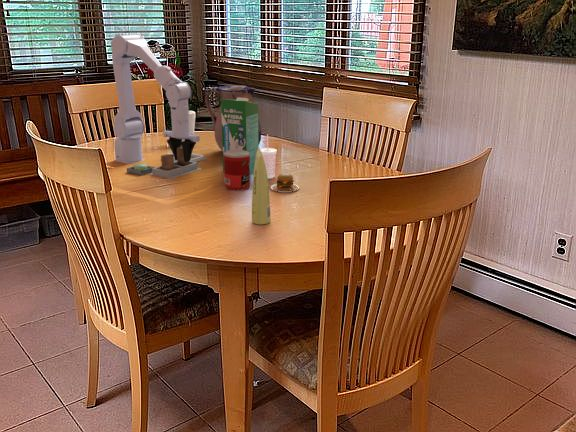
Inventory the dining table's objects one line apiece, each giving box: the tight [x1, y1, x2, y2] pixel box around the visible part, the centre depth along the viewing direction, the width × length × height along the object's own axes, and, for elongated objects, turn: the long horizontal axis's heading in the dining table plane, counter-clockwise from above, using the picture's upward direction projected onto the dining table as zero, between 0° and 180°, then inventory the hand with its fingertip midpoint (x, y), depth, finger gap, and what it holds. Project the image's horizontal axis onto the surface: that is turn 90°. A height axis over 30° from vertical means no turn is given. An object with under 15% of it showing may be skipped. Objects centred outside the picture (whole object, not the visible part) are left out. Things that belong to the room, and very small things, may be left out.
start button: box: [133, 163, 149, 171], centre depth 191 cm, size 4×4×3 cm
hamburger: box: [269, 172, 300, 193], centre depth 178 cm, size 12×12×6 cm
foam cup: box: [182, 110, 197, 141], centre depth 233 cm, size 10×9×13 cm
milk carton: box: [220, 98, 260, 175], centre depth 192 cm, size 9×9×25 cm
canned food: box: [223, 150, 251, 191], centre depth 178 cm, size 8×8×11 cm
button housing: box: [126, 165, 156, 176], centre depth 192 cm, size 6×6×2 cm
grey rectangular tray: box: [149, 161, 202, 180], centre depth 193 cm, size 10×15×3 cm, turn 147°
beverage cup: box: [260, 134, 278, 179], centre depth 189 cm, size 6×6×14 cm
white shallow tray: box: [170, 152, 207, 163], centre depth 208 cm, size 13×10×2 cm
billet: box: [177, 146, 189, 166], centre depth 194 cm, size 4×4×6 cm
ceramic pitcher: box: [204, 85, 262, 152], centre depth 217 cm, size 18×21×25 cm
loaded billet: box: [160, 153, 174, 171], centre depth 189 cm, size 4×4×6 cm
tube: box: [251, 146, 271, 226], centre depth 148 cm, size 6×5×20 cm
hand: (182, 160), depth 194 cm, fingers closed on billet, 4 cm apart
